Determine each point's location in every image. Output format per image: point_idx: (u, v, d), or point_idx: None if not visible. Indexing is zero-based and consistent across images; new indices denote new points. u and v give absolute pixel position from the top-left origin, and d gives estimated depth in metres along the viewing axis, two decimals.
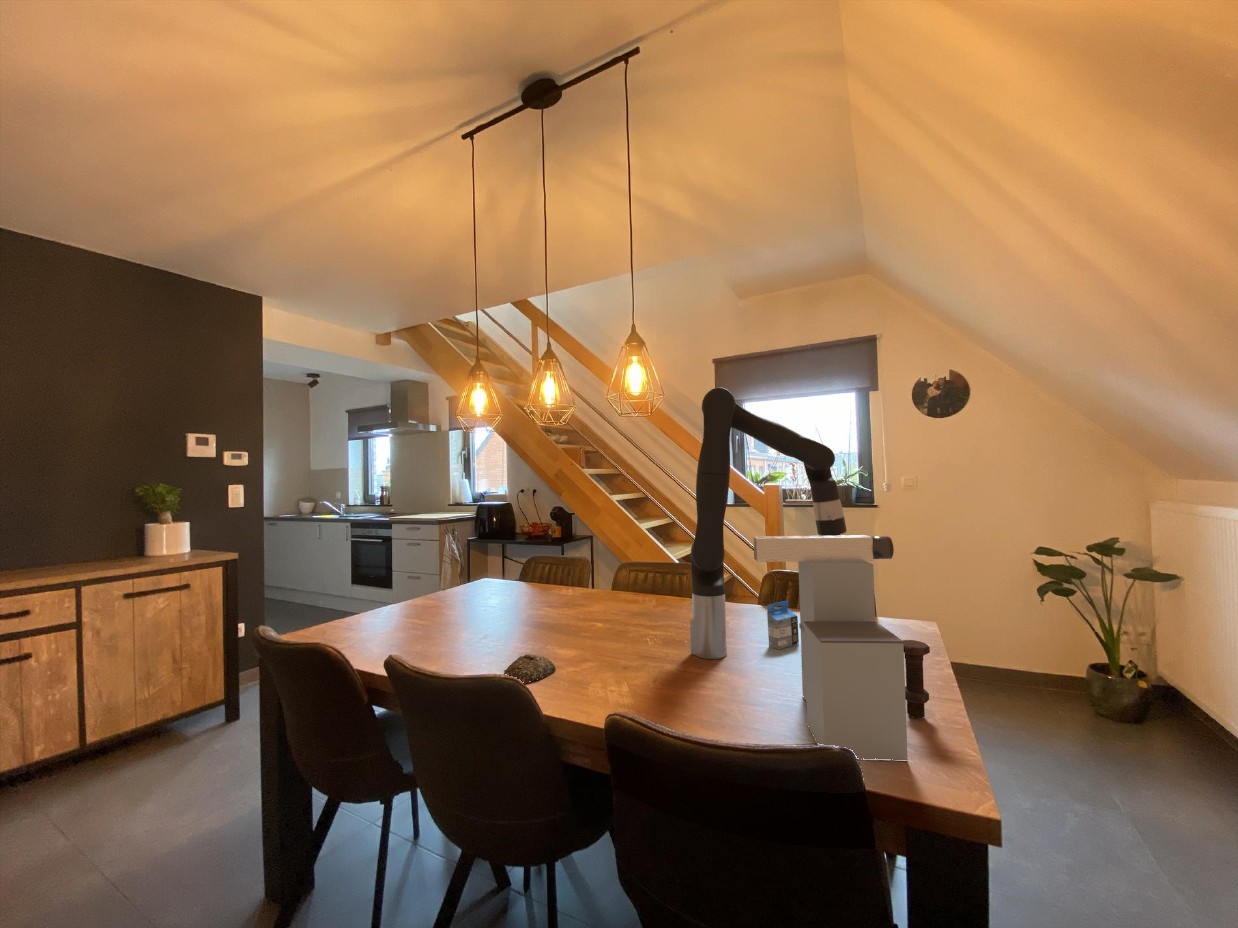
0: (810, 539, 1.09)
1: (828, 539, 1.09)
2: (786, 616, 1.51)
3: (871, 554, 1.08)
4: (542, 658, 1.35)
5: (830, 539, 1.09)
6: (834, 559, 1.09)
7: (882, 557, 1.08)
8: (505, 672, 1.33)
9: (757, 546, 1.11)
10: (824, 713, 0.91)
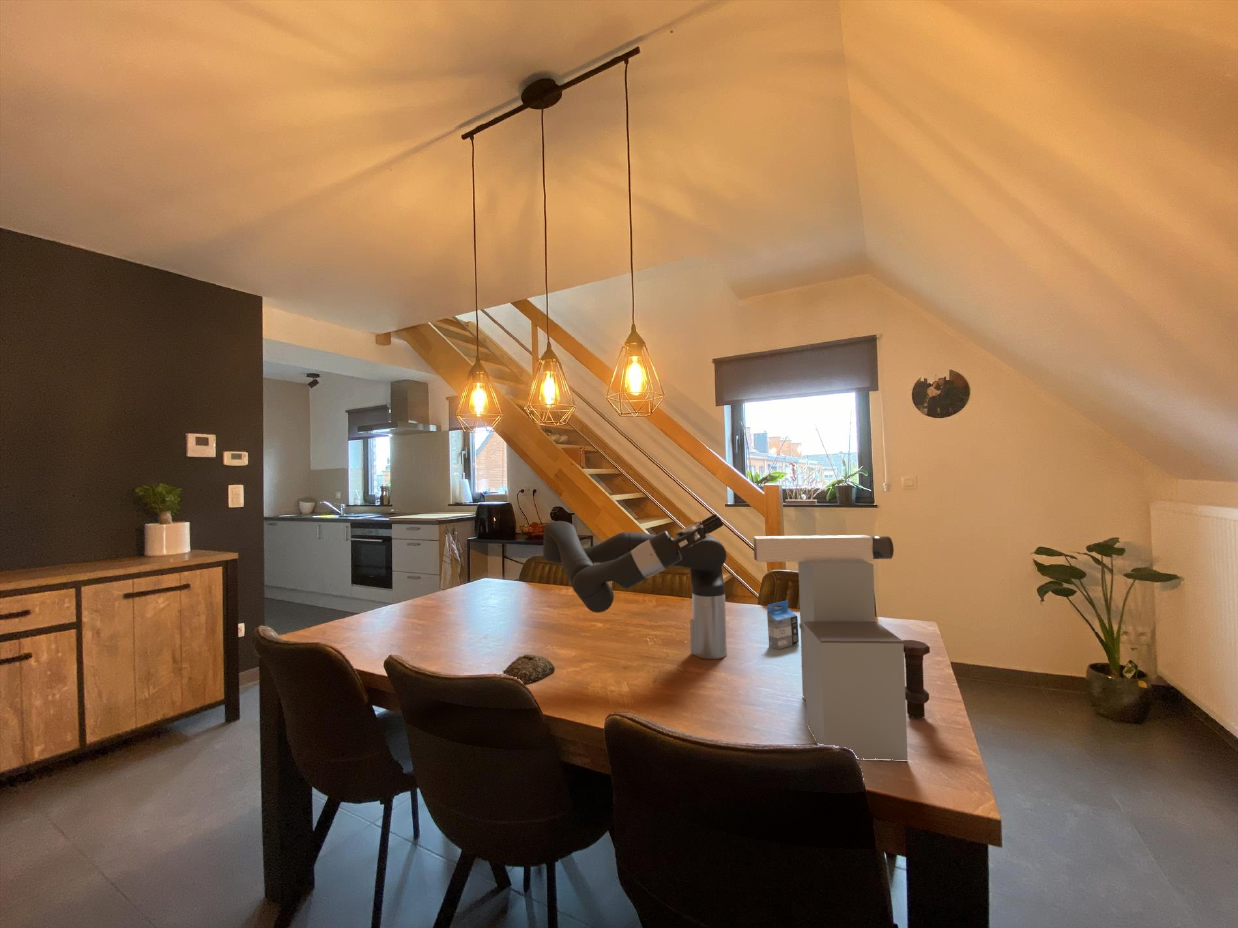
0: (810, 539, 1.09)
1: (828, 539, 1.09)
2: (786, 616, 1.51)
3: (871, 554, 1.08)
4: (541, 658, 1.35)
5: (830, 539, 1.09)
6: (834, 559, 1.09)
7: (882, 557, 1.08)
8: (504, 672, 1.33)
9: (757, 546, 1.11)
10: (824, 713, 0.91)
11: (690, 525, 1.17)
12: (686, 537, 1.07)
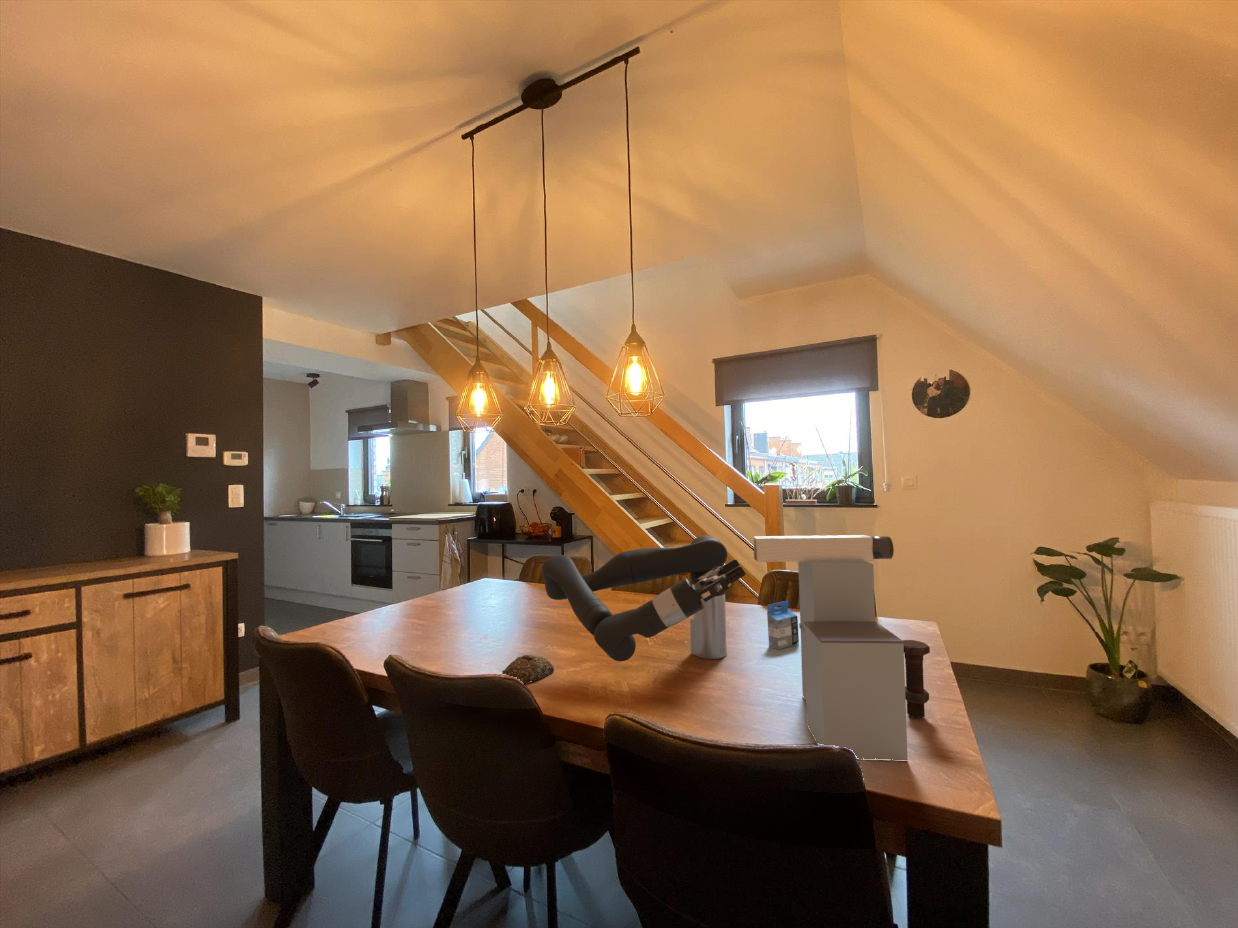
0: (810, 539, 1.09)
1: (828, 539, 1.09)
2: (786, 616, 1.51)
3: (871, 554, 1.08)
4: (540, 658, 1.35)
5: (830, 539, 1.09)
6: (834, 559, 1.09)
7: (882, 557, 1.08)
8: (503, 673, 1.32)
9: (757, 546, 1.11)
10: (824, 713, 0.91)
11: (711, 571, 1.16)
12: (709, 588, 1.07)
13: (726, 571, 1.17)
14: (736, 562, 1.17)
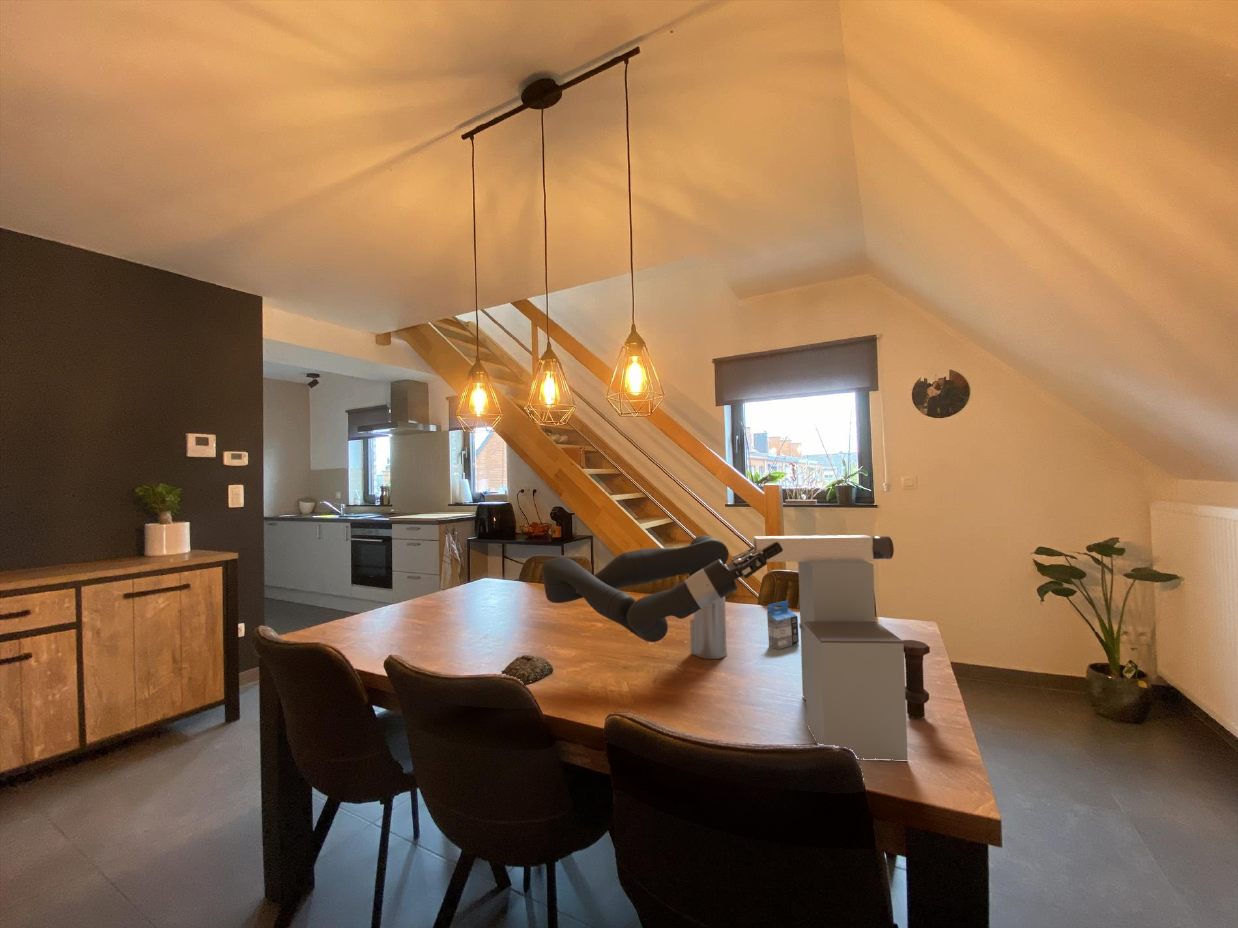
0: (810, 539, 1.09)
1: (828, 539, 1.09)
2: (786, 616, 1.51)
3: (871, 554, 1.08)
4: (539, 659, 1.35)
5: (830, 539, 1.09)
6: (834, 559, 1.09)
7: (882, 557, 1.08)
8: (502, 673, 1.32)
9: (757, 546, 1.11)
10: (824, 713, 0.91)
11: (745, 553, 1.14)
12: (749, 564, 1.07)
13: None
14: None
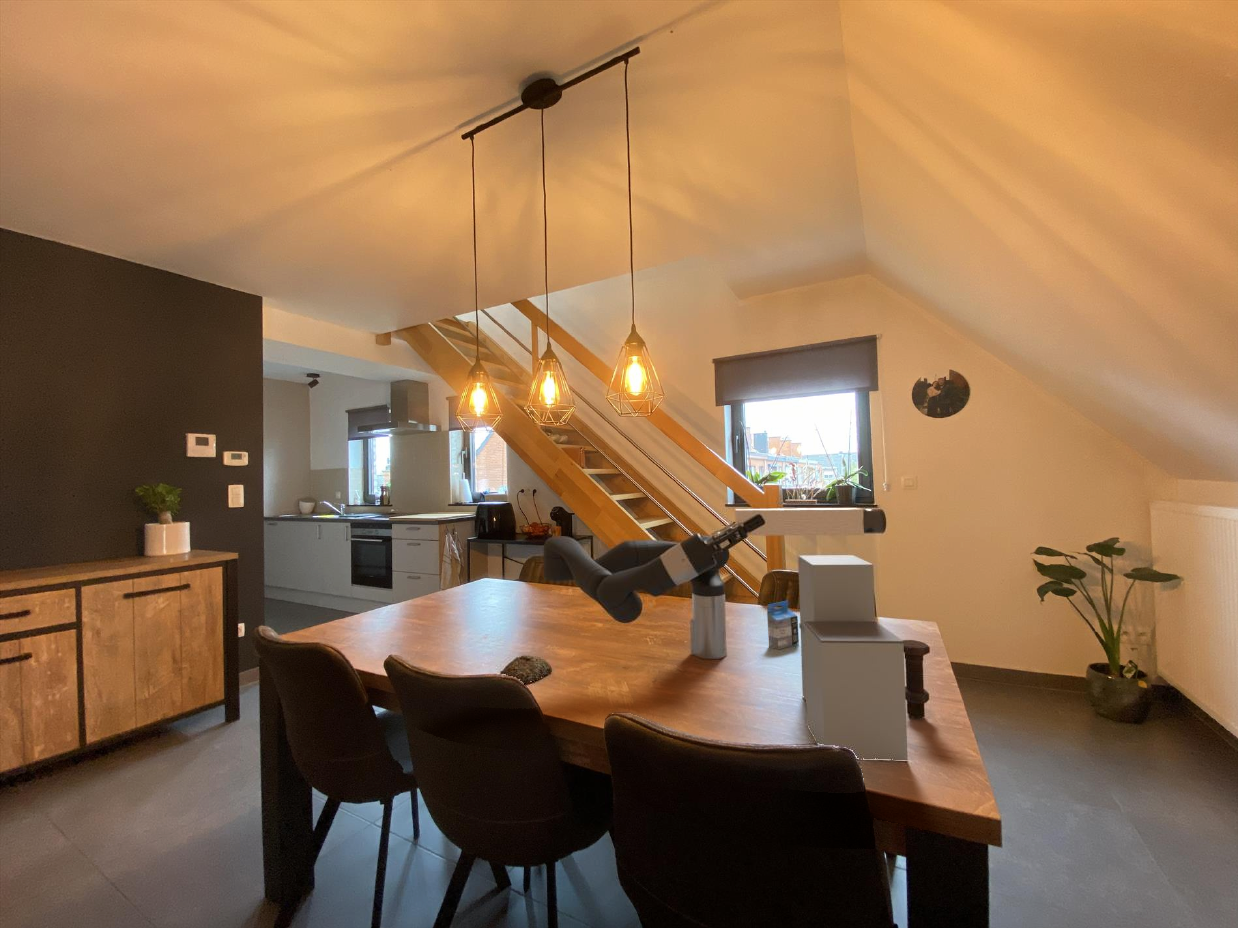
0: (795, 511, 1.01)
1: (815, 511, 1.00)
2: (786, 616, 1.51)
3: (862, 528, 0.99)
4: (538, 659, 1.34)
5: (816, 512, 1.00)
6: (821, 533, 1.00)
7: (874, 531, 0.99)
8: (501, 673, 1.32)
9: (738, 518, 1.02)
10: (824, 713, 0.91)
11: (726, 526, 1.06)
12: (728, 537, 0.98)
13: None
14: None
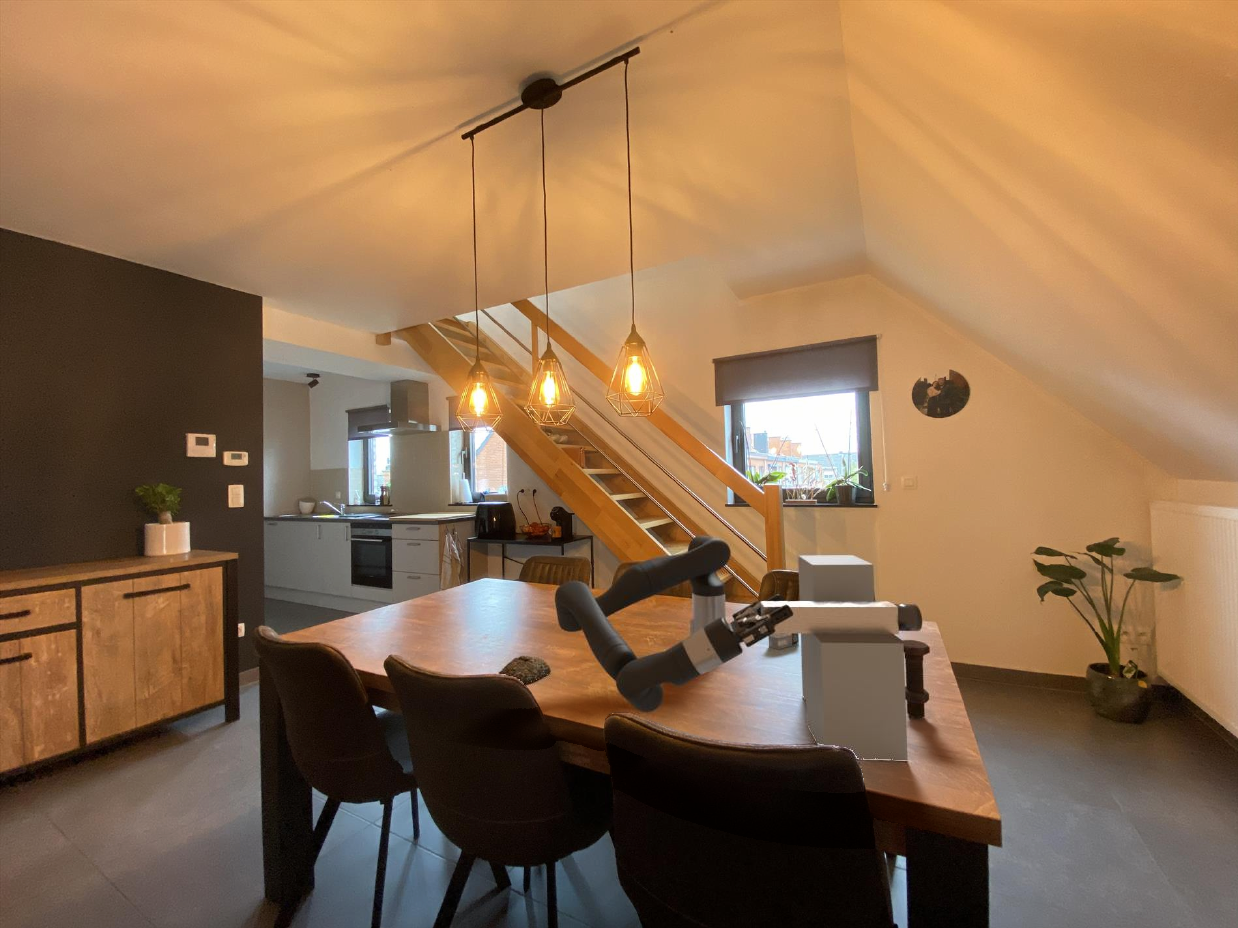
0: (826, 608, 0.95)
1: (847, 608, 0.95)
2: None
3: (896, 626, 0.94)
4: (537, 660, 1.34)
5: (848, 609, 0.95)
6: (854, 631, 0.95)
7: (909, 629, 0.94)
8: None
9: None
10: (824, 713, 0.91)
11: (750, 609, 1.01)
12: (752, 631, 0.92)
13: None
14: (779, 598, 1.02)
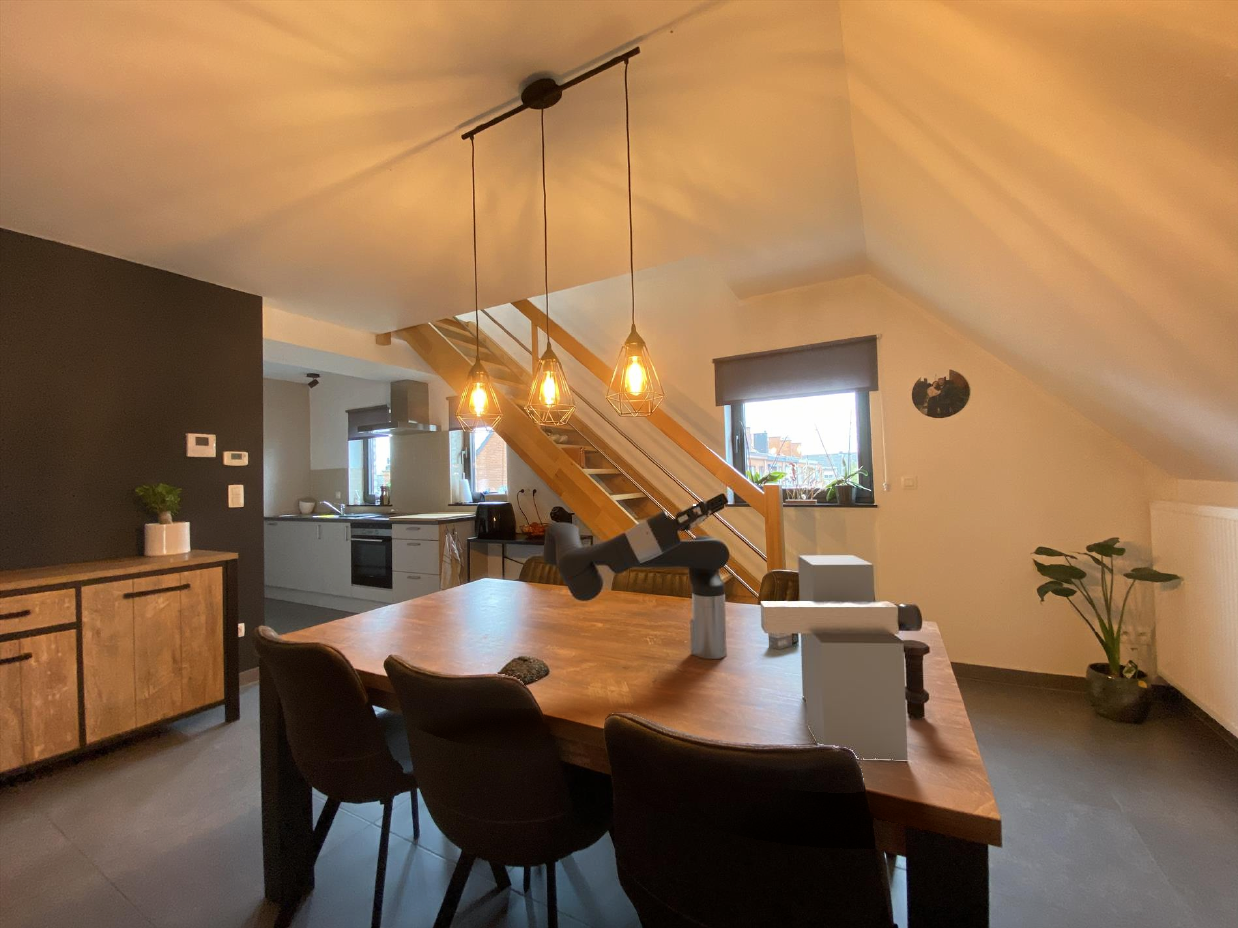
0: (826, 608, 0.95)
1: (847, 608, 0.95)
2: None
3: (896, 626, 0.94)
4: (536, 660, 1.34)
5: (848, 609, 0.95)
6: (854, 631, 0.95)
7: (909, 629, 0.94)
8: None
9: (765, 615, 0.97)
10: (824, 713, 0.91)
11: None
12: (687, 512, 0.97)
13: None
14: None
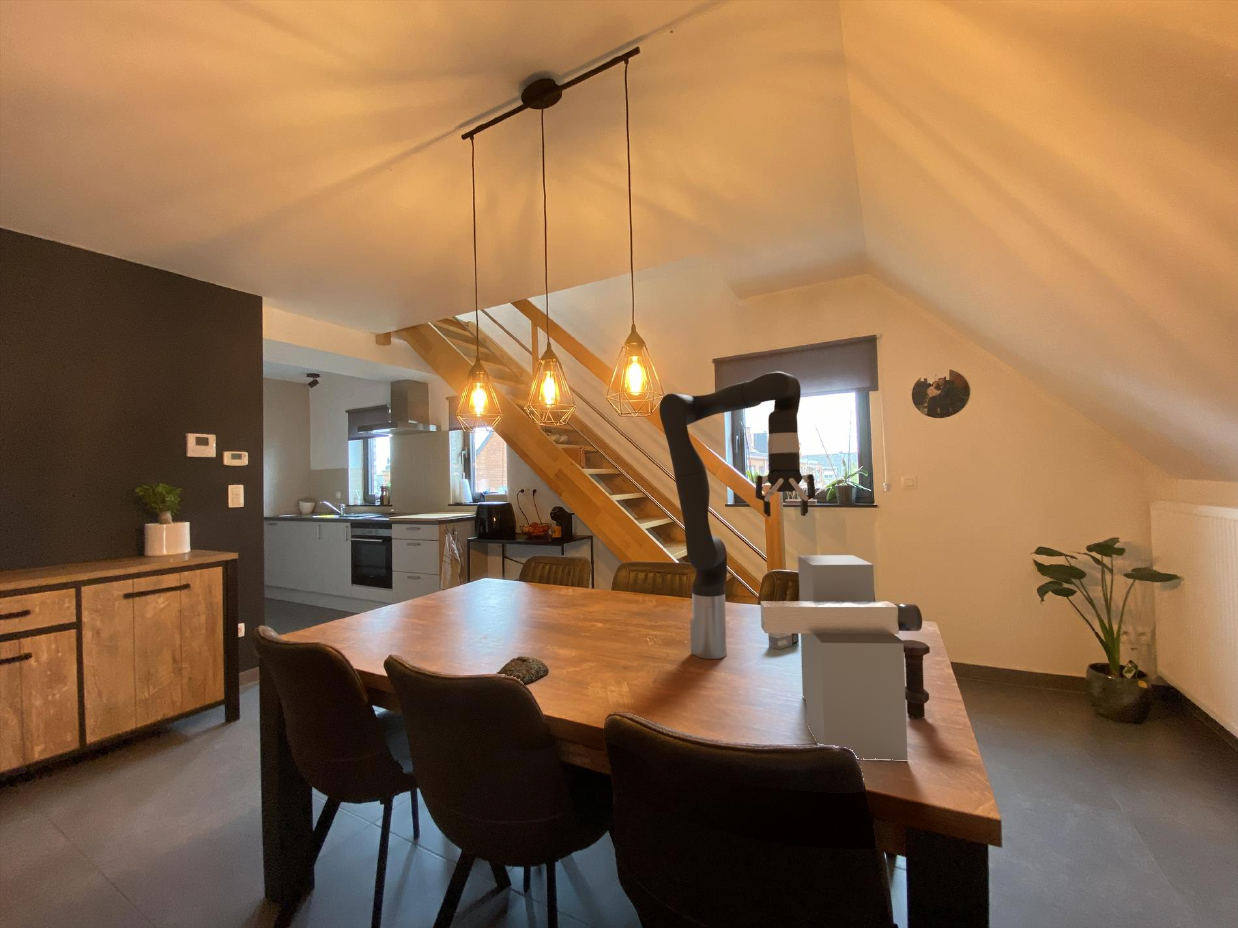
0: (826, 608, 0.95)
1: (847, 608, 0.95)
2: None
3: (896, 626, 0.94)
4: (535, 660, 1.34)
5: (848, 609, 0.95)
6: (854, 631, 0.95)
7: (909, 629, 0.94)
8: None
9: (765, 615, 0.97)
10: (824, 713, 0.91)
11: None
12: None
13: None
14: None
